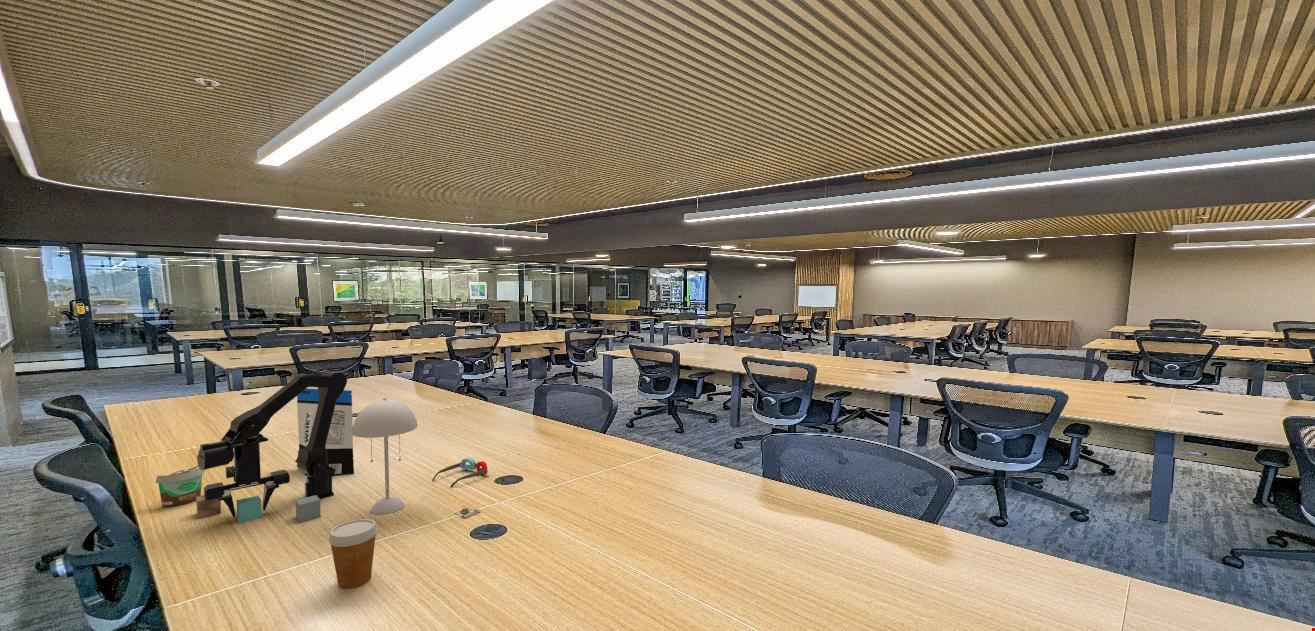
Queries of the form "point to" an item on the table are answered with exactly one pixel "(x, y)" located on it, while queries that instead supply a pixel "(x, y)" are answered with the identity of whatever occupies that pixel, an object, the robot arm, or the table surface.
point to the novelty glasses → (466, 467)
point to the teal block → (249, 508)
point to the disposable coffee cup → (353, 551)
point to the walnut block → (207, 506)
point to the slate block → (308, 508)
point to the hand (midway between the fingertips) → (249, 513)
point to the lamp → (385, 438)
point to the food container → (180, 487)
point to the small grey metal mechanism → (467, 512)
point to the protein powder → (339, 432)
